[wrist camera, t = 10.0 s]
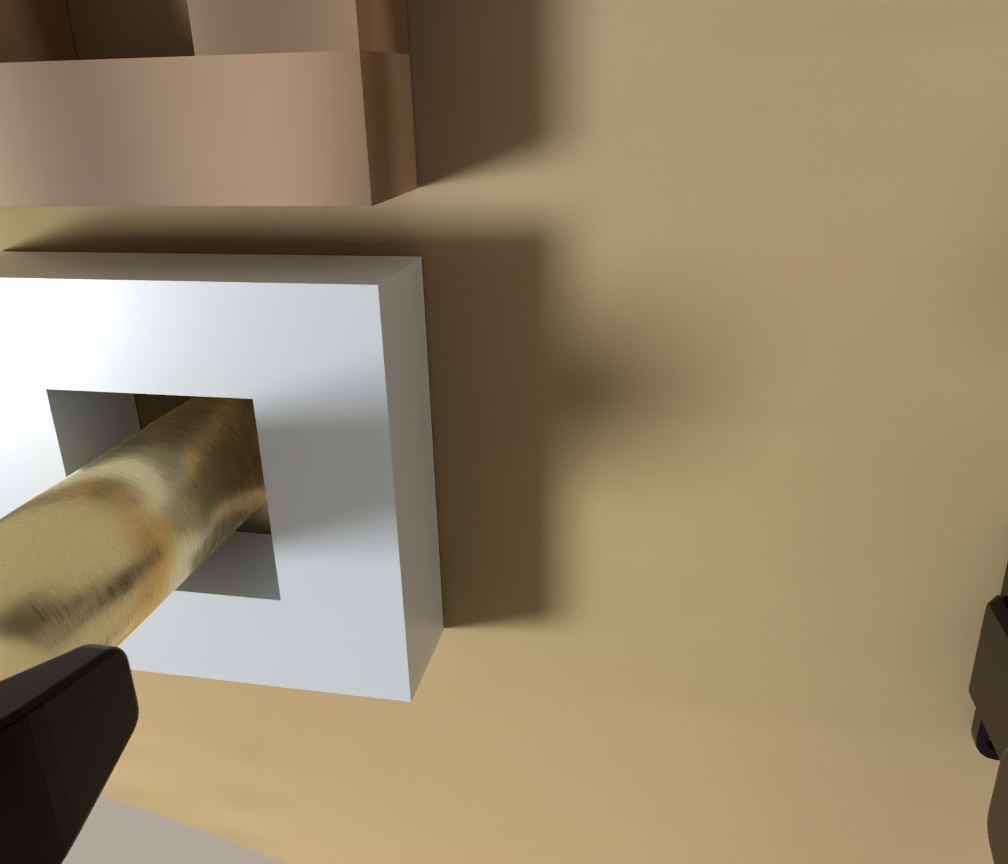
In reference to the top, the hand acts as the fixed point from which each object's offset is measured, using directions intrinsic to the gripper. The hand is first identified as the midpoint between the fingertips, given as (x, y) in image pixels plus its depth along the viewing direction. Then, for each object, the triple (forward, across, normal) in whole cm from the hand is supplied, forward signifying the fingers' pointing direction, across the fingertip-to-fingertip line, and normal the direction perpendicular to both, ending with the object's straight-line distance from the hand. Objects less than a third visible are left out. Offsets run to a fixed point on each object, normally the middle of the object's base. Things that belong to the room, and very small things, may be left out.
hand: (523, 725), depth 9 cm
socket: (+12, +10, +2) cm, 16 cm away
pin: (+12, +10, +2) cm, 16 cm away
